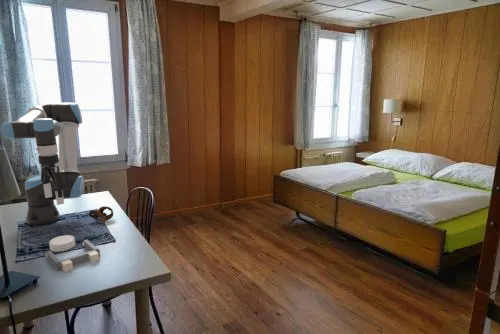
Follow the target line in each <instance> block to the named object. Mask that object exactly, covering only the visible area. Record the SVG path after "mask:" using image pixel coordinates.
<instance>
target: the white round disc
mask: <svg viewBox="0 0 500 334" xmlns="http://www.w3.org/2000/svg"><path fill="white" fill-rule="evenodd" d="M48 245H49V251H51V252H55V253H56V252H57V253H58V252H65V251H68V250H71V249H72V248H74V247H75V246H76V238H75V236H73V235H69V234H66V235H65V234H64V235H60V236H56V237H54V238H52V239H50V241H48Z"/></svg>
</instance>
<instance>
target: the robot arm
mask: <svg viewBox="0 0 500 334" xmlns="http://www.w3.org/2000/svg"><path fill="white" fill-rule="evenodd" d="M82 123H83V117H82V113H81V109H80V106H79V104H78V103H76V102H69V101H68V102H44V103H40V104H37V105H35V106H32V107H31V108H29V109H28V110H27V111H26V113H25V114H23V115H22V116H21V117H19V118H17V119H15V120H14V121H5V122H2V124H1V127H0V131H1V135H2V138H4V139H6V140H12V139H13V140H15V139H17V140H18V139H19V140H20V139H35V143H36V148H35V151H37V155H38V156H37V158H38V164H39V165H40V167H41V170H40V175H37V176H33V177H30V178H28V179H26V180H25V182H24V190H25V195H26V201H27V208H28V209H27V212H26V216H25V221H26V224H27V225H33V226H35V225H36V226H37V225H45V224H49V223H53V222H55V221H57V220H58V219H60V212H59V210H58V208H57V207H56V205H57V206H59V205H63V204H65V200H69V199H72V200H73V199H77V198H80V197H82V195H83V193H84V189H85V188H84V187H85V177H84V176H83V175H81V172H80V171H79V170H78V150H77V147H78V145H77V130H78V129H79V128H80V124H82ZM57 136H58V143H57V138H56V137H57ZM56 164H58V166H57V167H56ZM55 200H56V201H55ZM55 202H56V204H55Z"/></svg>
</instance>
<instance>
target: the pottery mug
mask: <svg viewBox="0 0 500 334" xmlns="http://www.w3.org/2000/svg"><path fill="white" fill-rule="evenodd" d="M105 210H108V211H110V213H109V214H107V212H104V211H105ZM114 215H115V213H114V210H113V209H112V207H110V206H104V205H103V206H101V207H99V208H98V209H97V210H94V209H93V210H90V211H88V216H89V217H90V218H92V219H93V220H94V221H95V220H97V219H99V218H100V219H101V223H102V224H105V223H106V222H107V221H109V220H111V219H112V218H113V217H114Z"/></svg>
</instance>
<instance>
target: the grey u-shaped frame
mask: <svg viewBox="0 0 500 334" xmlns="http://www.w3.org/2000/svg"><path fill="white" fill-rule="evenodd" d="M81 244H82V246H83V247H84V248H85V249H86V250H87V251H86V252H83V253H81V254H76V255H74V256H73V255H72V256H71V257H67V258H64V259H61V260H60V259H59V257H57V256H56V255H55V254H54V253H53V251H51V250H47V251H46V252H45V257H46V259H47V260H48V261H49V263H51V265H52V266H53V267H54V268H55V269H56V271H61V270H62V271H63V272H64V273H65V272H69V271H72V270H74V266H76V265H78V264H82V263H84V262H88V261H89V262H90V263H95V262H98V261H100V257H101V254H100V253H101V252H100V248H98V247H97V246H96V245H94V244H93V243H92V242H91V241H89V239H85V240H83V242H82V243H81Z"/></svg>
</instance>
